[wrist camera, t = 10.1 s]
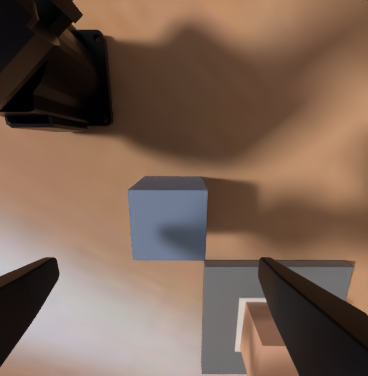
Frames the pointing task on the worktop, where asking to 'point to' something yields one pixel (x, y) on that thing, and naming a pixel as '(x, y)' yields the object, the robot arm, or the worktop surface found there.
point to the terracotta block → (263, 344)
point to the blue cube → (168, 218)
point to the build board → (249, 292)
